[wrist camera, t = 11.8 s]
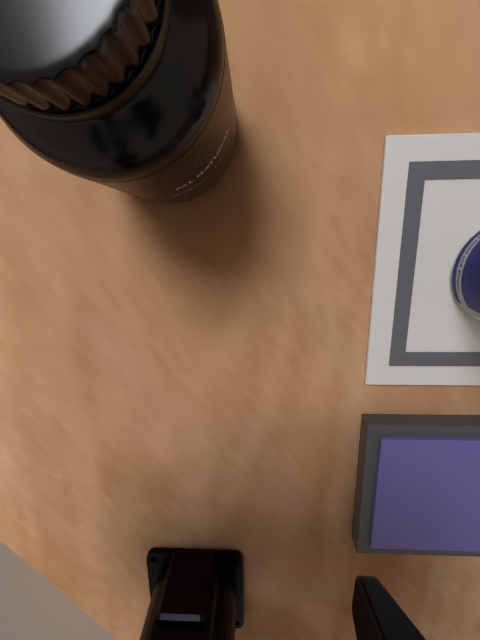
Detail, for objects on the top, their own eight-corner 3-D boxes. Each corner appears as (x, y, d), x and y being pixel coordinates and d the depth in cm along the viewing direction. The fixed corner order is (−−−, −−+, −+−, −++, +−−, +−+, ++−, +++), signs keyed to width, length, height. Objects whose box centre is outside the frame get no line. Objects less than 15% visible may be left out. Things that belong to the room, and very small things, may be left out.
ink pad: (492, 540, 22) (509, 561, 21) (351, 536, 23) (358, 557, 21) (518, 415, 20) (539, 430, 19) (362, 414, 20) (370, 428, 19)
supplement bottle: (227, 214, 18) (176, 185, 6) (99, 193, 18) (-184, 126, 6) (249, 63, 16) (232, -350, 5) (107, 40, 16) (-264, -429, 5)
